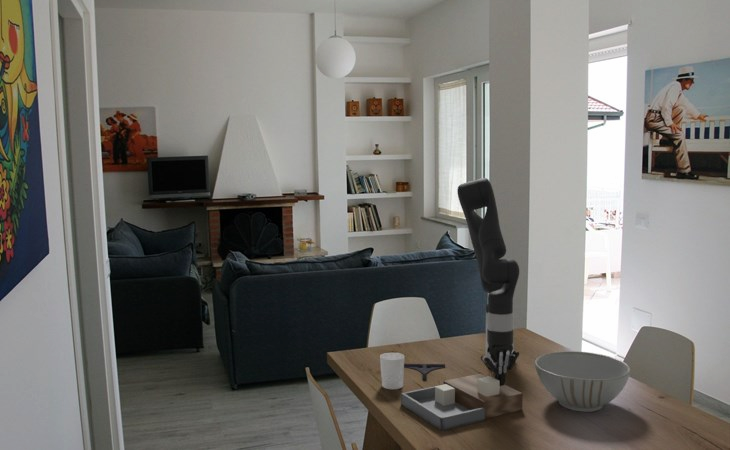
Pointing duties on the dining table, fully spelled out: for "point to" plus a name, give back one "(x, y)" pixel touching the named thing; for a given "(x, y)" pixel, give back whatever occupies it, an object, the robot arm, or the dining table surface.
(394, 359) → the white cup
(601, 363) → the decorative bowl
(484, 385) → the off-white cube
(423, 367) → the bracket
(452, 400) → the cream cube
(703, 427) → the dining table surface
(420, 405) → the tray
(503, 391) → the walnut board
